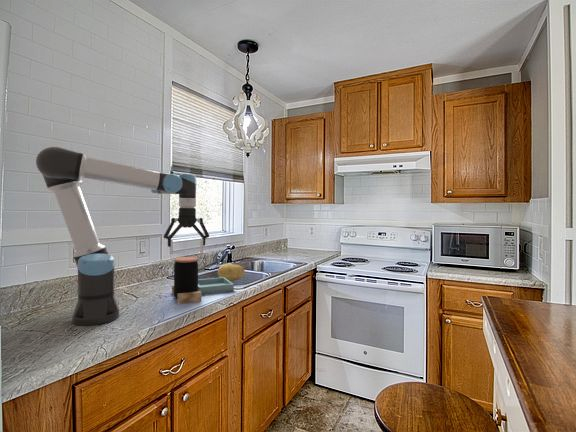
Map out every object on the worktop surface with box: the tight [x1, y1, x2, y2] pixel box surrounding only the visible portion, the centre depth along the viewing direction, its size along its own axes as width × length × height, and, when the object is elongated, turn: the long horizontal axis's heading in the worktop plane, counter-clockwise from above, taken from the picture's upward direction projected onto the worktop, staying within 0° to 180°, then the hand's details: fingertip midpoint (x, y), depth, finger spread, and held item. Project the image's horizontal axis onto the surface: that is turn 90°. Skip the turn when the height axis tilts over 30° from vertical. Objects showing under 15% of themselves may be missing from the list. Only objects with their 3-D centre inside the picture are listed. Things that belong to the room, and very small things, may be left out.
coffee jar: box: [173, 256, 199, 300], centre depth 150 cm, size 11×11×18 cm
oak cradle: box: [171, 284, 202, 305], centre depth 150 cm, size 10×19×4 cm, turn 27°
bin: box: [198, 277, 235, 295], centre depth 166 cm, size 17×17×4 cm
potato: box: [217, 263, 245, 282], centre depth 185 cm, size 10×14×10 cm
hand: (186, 253), depth 150 cm, fingers open, 13 cm apart
